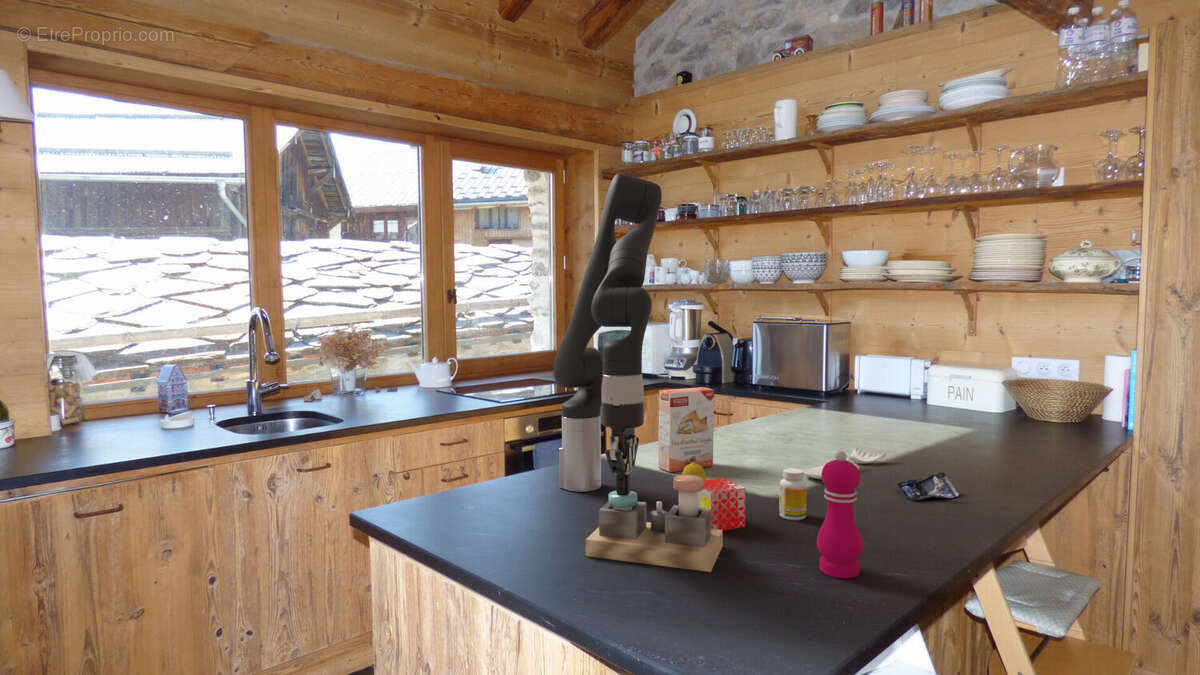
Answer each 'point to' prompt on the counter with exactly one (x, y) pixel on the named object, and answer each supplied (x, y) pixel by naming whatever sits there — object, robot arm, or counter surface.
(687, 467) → the lemon
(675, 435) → the cracker box
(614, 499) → the knob left
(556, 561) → the counter surface
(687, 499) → the knob right
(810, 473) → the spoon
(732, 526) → the red patterned cube box
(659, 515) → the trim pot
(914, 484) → the snack package
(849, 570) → the pepper mill
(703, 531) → the mount
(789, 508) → the supplement bottle
